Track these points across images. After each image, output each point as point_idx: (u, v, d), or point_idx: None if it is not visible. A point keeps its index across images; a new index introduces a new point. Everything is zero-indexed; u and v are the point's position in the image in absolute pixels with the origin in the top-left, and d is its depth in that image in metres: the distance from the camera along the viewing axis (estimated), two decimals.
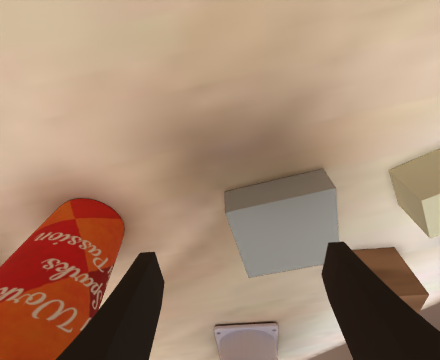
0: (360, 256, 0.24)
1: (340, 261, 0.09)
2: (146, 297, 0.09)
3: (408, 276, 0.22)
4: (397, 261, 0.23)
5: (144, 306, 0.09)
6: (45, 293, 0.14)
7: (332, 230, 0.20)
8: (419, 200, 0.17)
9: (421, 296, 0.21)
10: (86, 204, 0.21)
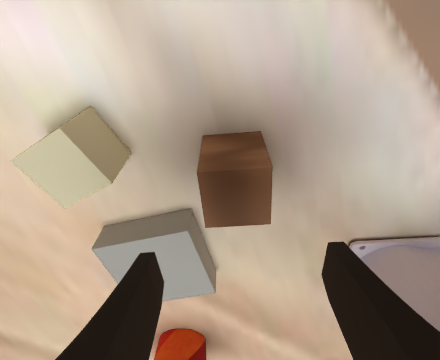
0: None
1: (340, 261, 0.09)
2: (146, 297, 0.09)
3: None
4: None
5: (144, 306, 0.09)
6: None
7: (141, 243, 0.20)
8: None
9: (202, 180, 0.14)
10: (158, 344, 0.32)
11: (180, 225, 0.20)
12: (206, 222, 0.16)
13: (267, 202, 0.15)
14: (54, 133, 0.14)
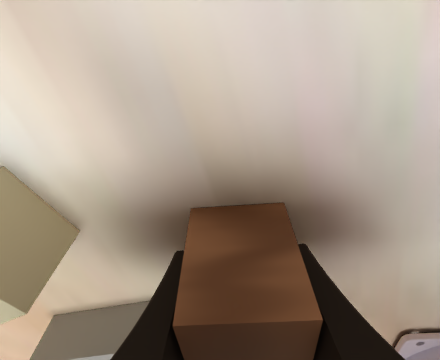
0: None
1: None
2: None
3: None
4: None
5: None
6: None
7: (100, 359, 0.13)
8: None
9: (183, 335, 0.07)
10: None
11: None
12: None
13: None
14: None
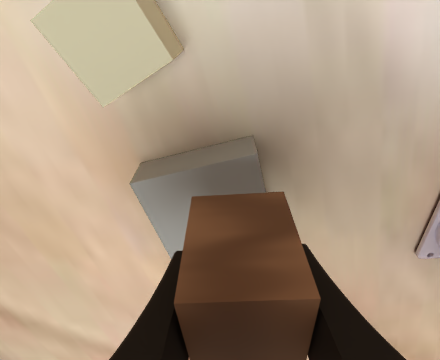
0: None
1: None
2: None
3: None
4: None
5: None
6: None
7: (194, 174, 0.15)
8: None
9: (184, 313, 0.07)
10: None
11: (245, 150, 0.15)
12: None
13: (303, 341, 0.08)
14: None
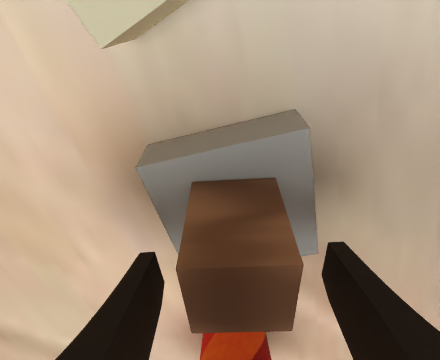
0: None
1: (340, 261, 0.09)
2: (146, 297, 0.09)
3: None
4: None
5: (144, 306, 0.09)
6: None
7: (222, 156, 0.12)
8: (108, 45, 0.08)
9: (185, 278, 0.08)
10: (203, 337, 0.24)
11: (289, 125, 0.12)
12: (193, 327, 0.10)
13: (289, 306, 0.09)
14: None
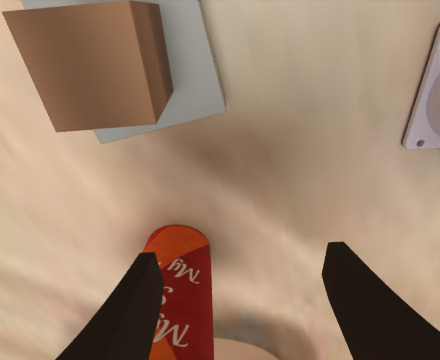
0: None
1: (340, 261, 0.09)
2: (146, 297, 0.09)
3: None
4: None
5: (144, 306, 0.09)
6: None
7: None
8: None
9: (17, 30, 0.08)
10: None
11: None
12: (54, 121, 0.10)
13: (140, 80, 0.09)
14: None
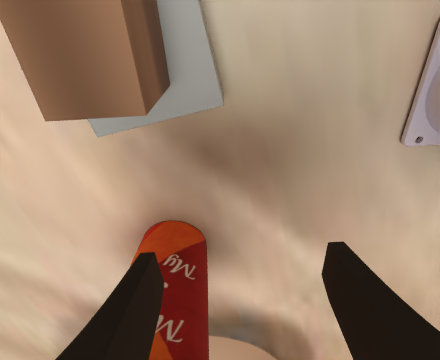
0: None
1: (340, 261, 0.09)
2: (146, 297, 0.09)
3: None
4: None
5: (143, 306, 0.09)
6: None
7: None
8: None
9: (5, 15, 0.08)
10: None
11: None
12: (43, 110, 0.10)
13: (129, 69, 0.09)
14: None
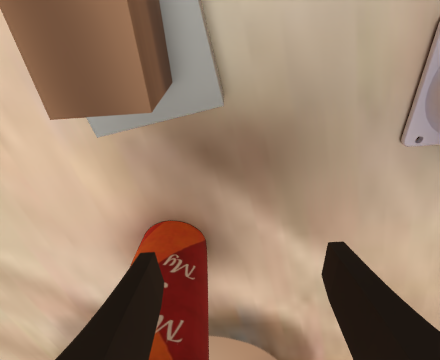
0: None
1: (340, 261, 0.09)
2: (146, 297, 0.09)
3: None
4: None
5: (143, 306, 0.09)
6: None
7: None
8: None
9: (9, 12, 0.08)
10: None
11: None
12: (48, 108, 0.10)
13: (135, 66, 0.09)
14: None
